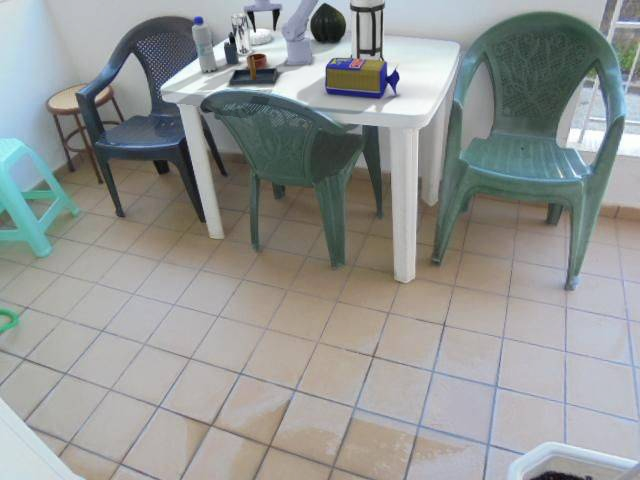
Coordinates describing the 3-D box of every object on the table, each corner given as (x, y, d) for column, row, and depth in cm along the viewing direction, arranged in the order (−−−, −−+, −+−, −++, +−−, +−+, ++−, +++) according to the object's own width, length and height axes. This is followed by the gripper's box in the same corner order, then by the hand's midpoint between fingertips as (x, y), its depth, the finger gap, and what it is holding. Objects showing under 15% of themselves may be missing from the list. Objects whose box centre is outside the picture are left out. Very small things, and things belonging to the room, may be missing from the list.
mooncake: (263, 46, 207) (261, 37, 204) (239, 43, 211) (237, 35, 209) (276, 37, 215) (275, 28, 212) (253, 34, 219) (252, 26, 217)
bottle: (210, 75, 186) (198, 20, 173) (197, 72, 189) (184, 18, 176) (221, 69, 190) (211, 14, 177) (208, 66, 193) (197, 13, 180)
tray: (277, 73, 183) (276, 68, 182) (273, 84, 175) (273, 79, 174) (235, 75, 184) (234, 69, 183) (230, 86, 176) (229, 81, 175)
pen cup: (268, 63, 191) (267, 52, 188) (266, 71, 185) (264, 60, 182) (249, 64, 192) (248, 53, 189) (246, 72, 186) (244, 61, 183)
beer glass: (234, 55, 201) (227, 17, 191) (242, 49, 205) (235, 11, 196) (248, 56, 198) (242, 17, 189) (256, 50, 203) (251, 12, 193)
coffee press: (338, 64, 186) (334, -23, 166) (364, 51, 194) (364, -33, 175) (374, 74, 176) (374, -17, 157) (400, 60, 185) (403, -28, 165)
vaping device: (238, 64, 192) (233, 33, 184) (226, 64, 193) (219, 33, 185) (240, 62, 193) (235, 31, 186) (228, 62, 194) (222, 31, 187)
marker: (257, 77, 180) (253, 54, 174) (256, 79, 178) (252, 56, 173) (251, 77, 180) (247, 54, 175) (251, 79, 179) (247, 56, 173)
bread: (332, 83, 172) (331, 54, 166) (401, 89, 165) (402, 58, 158) (322, 95, 165) (321, 65, 159) (394, 101, 158) (396, 70, 151)
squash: (336, 35, 194) (342, -2, 194) (302, 35, 199) (308, -2, 199) (346, 50, 208) (352, 15, 208) (314, 49, 213) (319, 15, 213)
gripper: (279, -12, 184) (281, 25, 193) (241, -9, 182) (245, 28, 191) (282, -6, 179) (284, 32, 188) (243, -4, 177) (246, 35, 186)
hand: (264, 30), depth 189 cm, fingers open, 7 cm apart
